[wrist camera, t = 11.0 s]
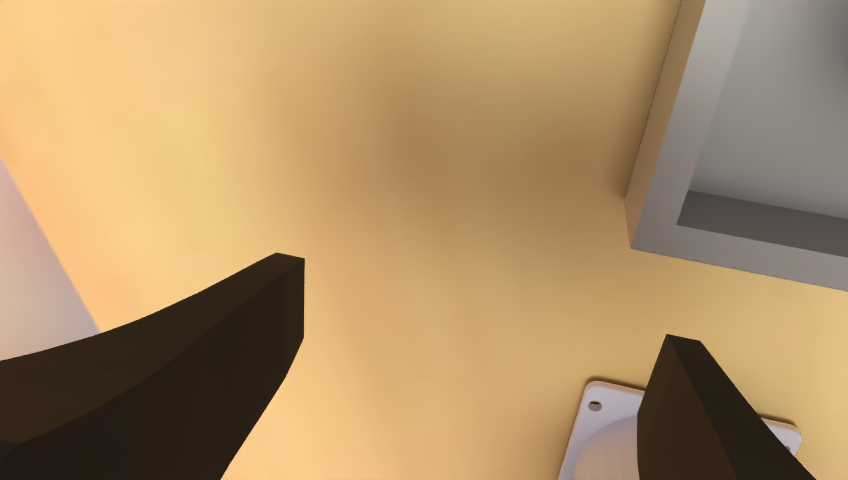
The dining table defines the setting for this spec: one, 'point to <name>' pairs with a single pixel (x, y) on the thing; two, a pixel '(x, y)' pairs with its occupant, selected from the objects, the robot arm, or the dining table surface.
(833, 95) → the tray
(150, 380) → the robot arm
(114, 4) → the dining table surface
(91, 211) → the dining table surface
